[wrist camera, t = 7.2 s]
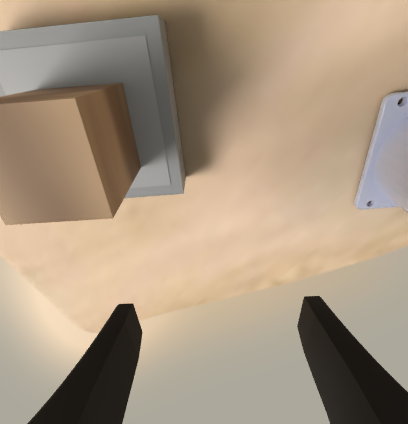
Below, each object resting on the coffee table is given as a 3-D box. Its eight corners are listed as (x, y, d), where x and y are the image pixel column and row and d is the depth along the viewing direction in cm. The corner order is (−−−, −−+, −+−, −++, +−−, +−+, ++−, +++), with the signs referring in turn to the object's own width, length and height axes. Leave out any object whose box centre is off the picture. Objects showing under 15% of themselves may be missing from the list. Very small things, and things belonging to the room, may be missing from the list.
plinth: (165, 21, 13) (157, 14, 11) (185, 177, 18) (183, 194, 16) (1, 38, 14) (-37, 35, 11) (64, 187, 18) (45, 204, 16)
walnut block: (122, 82, 12) (75, 98, 8) (141, 167, 15) (113, 218, 10) (35, 89, 13) (-64, 109, 8) (66, 172, 15) (5, 225, 10)
